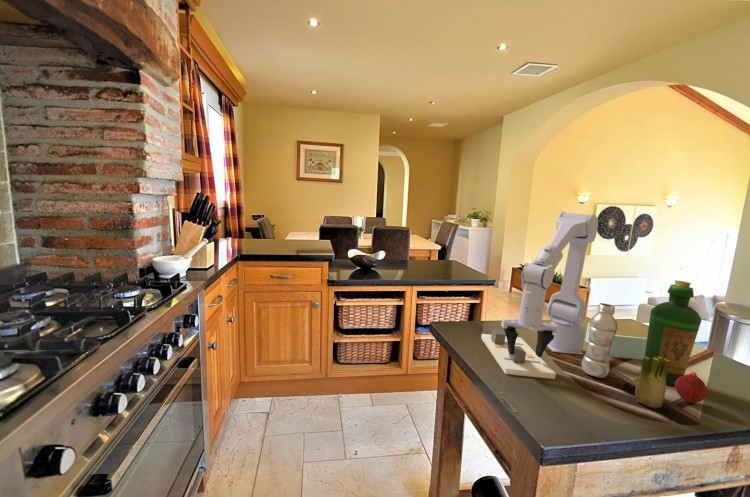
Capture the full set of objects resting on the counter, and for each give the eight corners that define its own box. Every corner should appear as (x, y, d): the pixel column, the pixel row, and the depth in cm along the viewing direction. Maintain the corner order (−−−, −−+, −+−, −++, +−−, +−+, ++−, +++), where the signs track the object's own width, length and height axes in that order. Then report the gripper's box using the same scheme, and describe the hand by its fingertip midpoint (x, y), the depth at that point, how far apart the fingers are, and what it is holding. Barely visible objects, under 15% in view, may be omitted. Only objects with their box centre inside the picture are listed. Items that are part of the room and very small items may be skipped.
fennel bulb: (633, 404, 81) (643, 356, 79) (631, 395, 85) (640, 349, 83) (664, 414, 78) (675, 364, 76) (660, 404, 82) (671, 357, 80)
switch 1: (500, 339, 110) (501, 330, 109) (504, 344, 106) (505, 335, 105) (490, 338, 110) (492, 329, 109) (494, 343, 106) (496, 334, 105)
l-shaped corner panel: (644, 361, 108) (649, 339, 107) (606, 358, 108) (611, 335, 107) (618, 345, 120) (622, 325, 119) (584, 342, 120) (588, 322, 119)
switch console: (520, 341, 114) (520, 337, 113) (555, 379, 90) (556, 373, 90) (481, 337, 114) (481, 333, 114) (505, 373, 90) (506, 367, 90)
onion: (709, 411, 81) (717, 380, 80) (682, 406, 82) (689, 375, 81) (692, 398, 86) (699, 368, 85) (666, 393, 87) (673, 364, 86)
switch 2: (519, 356, 98) (520, 346, 97) (524, 362, 94) (526, 352, 93) (508, 355, 98) (510, 345, 97) (513, 361, 94) (515, 351, 93)
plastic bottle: (603, 372, 97) (616, 304, 94) (611, 383, 90) (625, 310, 87) (577, 366, 99) (590, 300, 96) (583, 377, 92) (596, 306, 89)
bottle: (675, 392, 89) (699, 287, 85) (630, 372, 98) (649, 277, 94) (693, 385, 94) (717, 286, 90) (648, 366, 103) (668, 276, 99)
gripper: (510, 309, 90) (503, 358, 92) (566, 315, 89) (557, 363, 91) (501, 301, 97) (495, 347, 99) (553, 306, 96) (545, 352, 98)
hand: (524, 354), depth 95 cm, fingers open, 7 cm apart
